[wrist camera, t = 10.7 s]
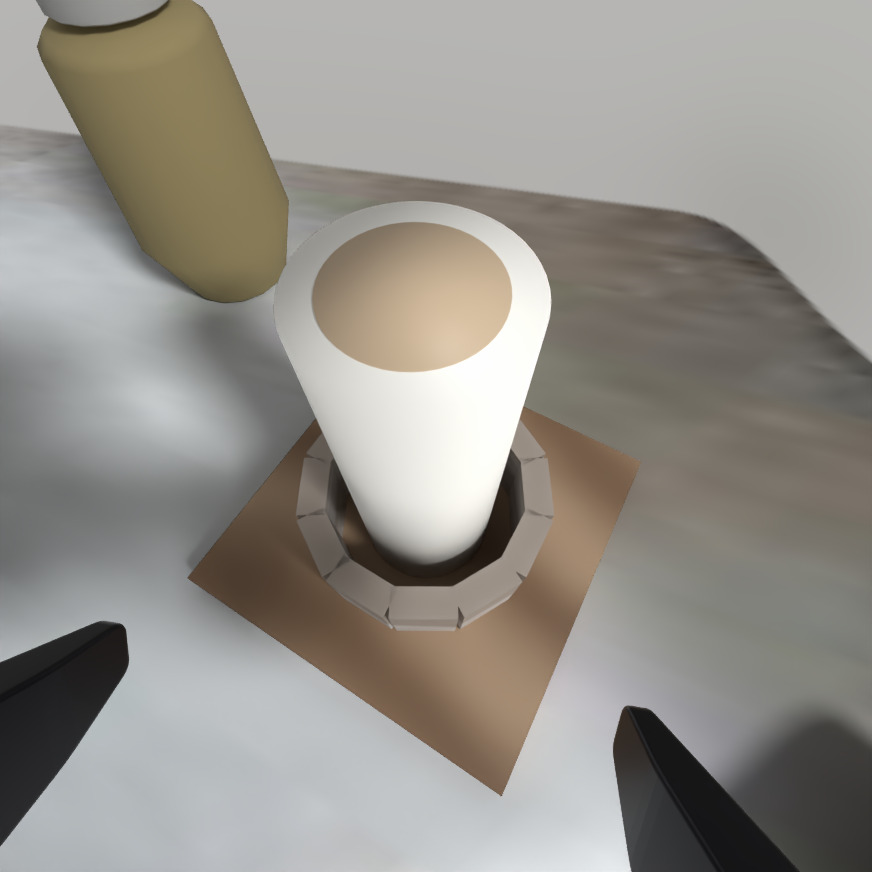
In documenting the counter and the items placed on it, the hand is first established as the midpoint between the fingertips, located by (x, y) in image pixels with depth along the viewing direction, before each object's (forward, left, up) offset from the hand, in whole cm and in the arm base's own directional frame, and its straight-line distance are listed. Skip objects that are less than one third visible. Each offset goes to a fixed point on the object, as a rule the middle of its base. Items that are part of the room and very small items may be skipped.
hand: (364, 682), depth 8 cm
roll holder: (+6, +2, -11) cm, 13 cm away
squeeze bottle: (+14, +20, -11) cm, 27 cm away
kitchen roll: (+6, +2, -10) cm, 12 cm away
